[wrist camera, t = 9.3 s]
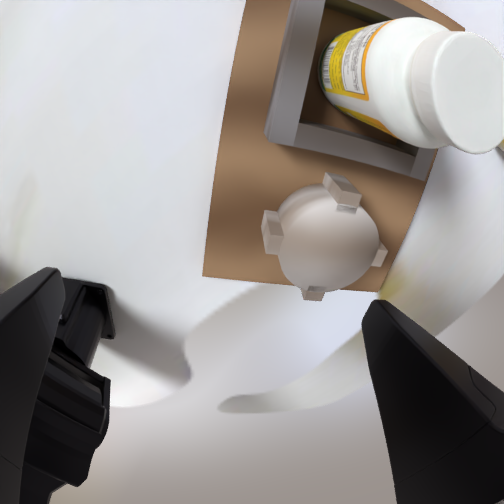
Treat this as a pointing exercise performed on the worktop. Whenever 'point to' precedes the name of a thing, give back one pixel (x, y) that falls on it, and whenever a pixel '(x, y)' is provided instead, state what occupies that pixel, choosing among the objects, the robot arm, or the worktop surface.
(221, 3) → the worktop surface
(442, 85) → the supplement bottle
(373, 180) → the carrier plate
